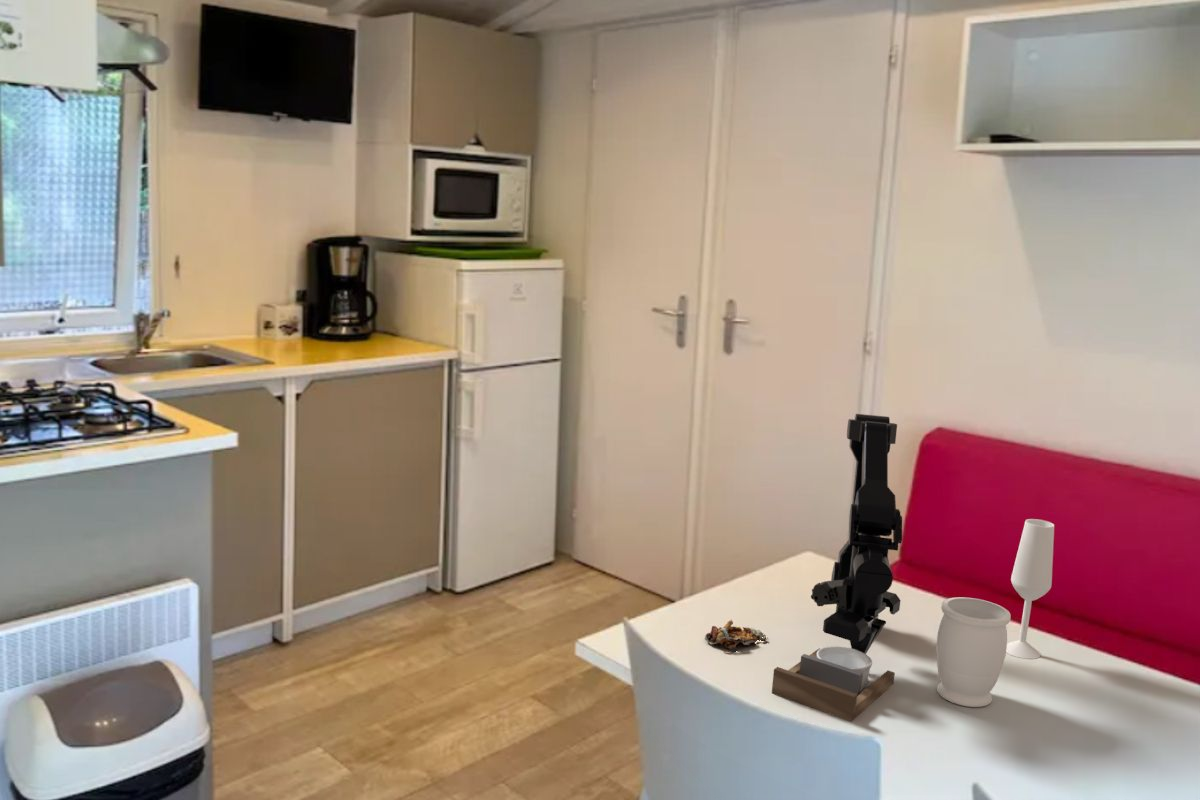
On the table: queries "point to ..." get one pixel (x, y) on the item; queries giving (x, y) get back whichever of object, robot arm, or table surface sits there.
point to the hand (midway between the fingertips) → (857, 661)
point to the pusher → (831, 673)
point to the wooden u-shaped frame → (827, 692)
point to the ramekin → (847, 659)
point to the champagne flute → (1032, 577)
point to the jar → (970, 649)
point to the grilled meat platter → (733, 636)
